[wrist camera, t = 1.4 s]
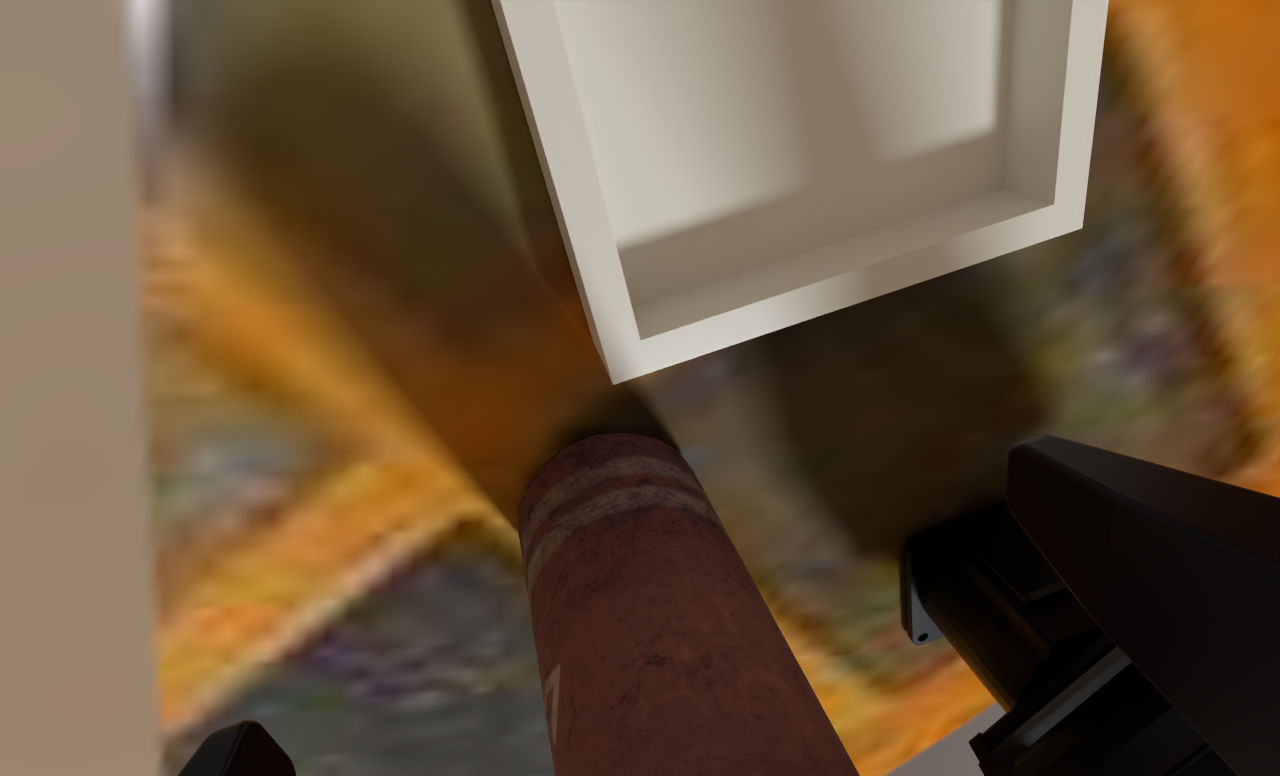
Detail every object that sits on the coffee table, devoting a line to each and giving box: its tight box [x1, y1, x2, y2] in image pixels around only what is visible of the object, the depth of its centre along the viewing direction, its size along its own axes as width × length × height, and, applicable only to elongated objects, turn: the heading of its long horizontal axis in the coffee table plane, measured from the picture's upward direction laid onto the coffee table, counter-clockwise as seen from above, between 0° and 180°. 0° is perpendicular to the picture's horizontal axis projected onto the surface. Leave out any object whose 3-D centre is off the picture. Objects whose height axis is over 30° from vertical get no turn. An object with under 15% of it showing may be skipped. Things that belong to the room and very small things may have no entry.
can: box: [518, 433, 860, 776], centre depth 18 cm, size 6×6×14 cm
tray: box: [491, 0, 1109, 385], centre depth 16 cm, size 14×14×3 cm
